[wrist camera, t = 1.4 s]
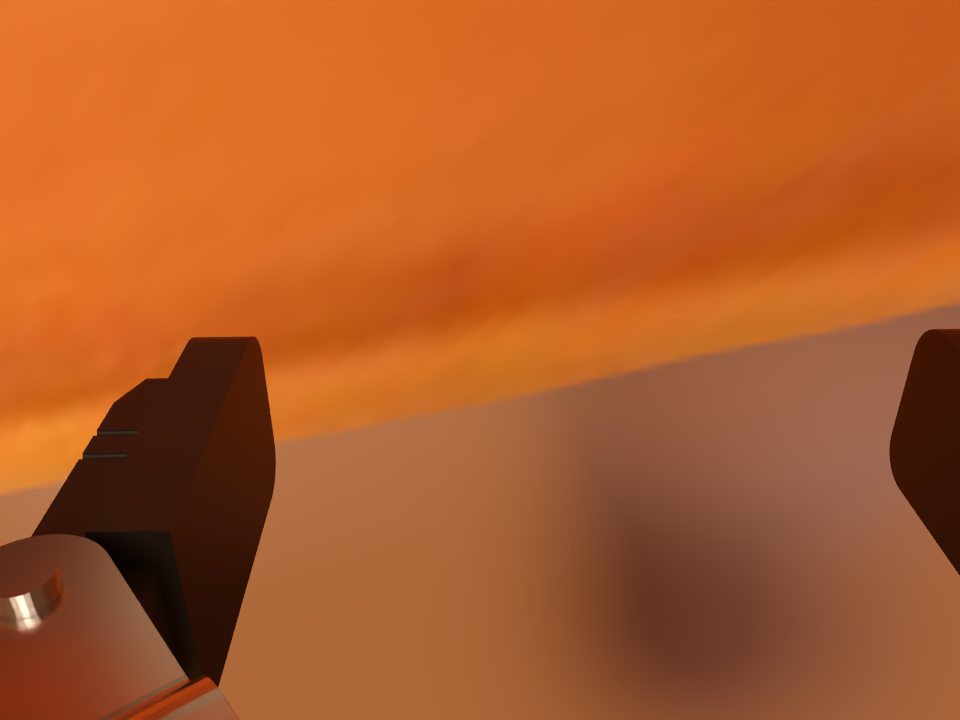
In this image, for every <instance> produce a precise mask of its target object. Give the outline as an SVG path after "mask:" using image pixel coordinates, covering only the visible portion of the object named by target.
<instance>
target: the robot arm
mask: <svg viewBox="0 0 960 720" xmlns="http://www.w3.org/2000/svg"><path fill="white" fill-rule="evenodd" d="M275 460H276V459H275V444H274V436H273V429H272V422H271V415H270V408H269V401H268V394H267V387H266V379H265V372H264V365H263V358H262V352H261V348H260V345H259V342H258V340H257V339H256V337H194V338H191V339H190V340H189V341H188V343H187V345H186V347H185V349H184V350H183V352H182V354H181V356H180V358H179V360H178V361H177V363H176V365H175V367H174V369H173V371H172V372H171V374H170V376H169V378H159V379H145V380H144V381H143V382H141V383H140V384H139V385H137V386H136V387H135V388H133V389H132V390H131V391H129V392H128V393H126V394H125V395H124V396H122V397H121V398H120V399H118V400H117V401H116V402H114V404H113V405H112V407H111V408H110V410H109V412H108V413H107V415H106V416H105V418H104V420H103V421H102V423H101V425H100V426H99V428H98V429H97V436H93V437H92V439H91V441H90V442H89V444H88V446H87V447H86V449H85V450H84V452H83V459H79V460H78V462H77V463H76V465H75V467H74V468H73V470H72V471H71V473H70V475H69V476H68V478H67V480H66V481H65V483H64V484H63V486H62V488H61V489H60V491H59V493H58V494H57V496H56V498H55V499H54V501H53V502H52V504H51V505H50V507H49V509H48V510H47V512H46V514H45V515H44V517H43V518H42V520H41V522H40V523H39V525H38V527H37V528H36V530H35V531H34V533H33V535H32V536H31V537H29V538H25V539H21V540H17V541H14V542H12V543H9V544H6V545H3V546H1V547H0V720H240V719H239V717H238V716H237V715H236V713H235V711H234V710H233V708H232V707H231V705H230V704H229V702H228V701H227V700H226V698H225V697H224V695H223V694H222V692H221V691H220V690H219V688H218V686H219V682H220V679H221V675H222V672H223V668H224V664H225V661H226V658H227V654H228V651H229V647H230V644H231V640H232V637H233V633H234V630H235V626H236V622H237V618H238V615H239V612H240V608H241V604H242V601H243V598H244V594H245V590H246V587H247V583H248V580H249V577H250V573H251V569H252V566H253V562H254V559H255V555H256V552H257V548H258V545H259V541H260V538H261V534H262V530H263V527H264V523H265V520H266V516H267V513H268V509H269V506H270V502H271V499H272V495H273V489H274V482H275V465H276V461H275ZM890 462H891V469H892V473H893V476H894V479H895V481H896V484H897V486H898V487H899V489H900V490H901V492H902V493H903V495H904V496H905V498H906V499H907V500H908V502H909V503H910V505H911V506H912V508H913V509H914V510H915V511H916V513H917V515H918V516H919V518H920V519H921V521H922V522H923V523H924V525H925V526H926V528H927V529H928V530H929V532H930V533H931V535H932V536H933V538H934V539H935V541H936V542H937V543H938V545H939V546H940V548H941V549H942V551H943V552H944V553H945V555H946V556H947V558H948V559H949V560H950V562H951V564H952V565H953V566H954V568H955V569H956V571H957V572H958V574H959V575H960V329H932V330H928V331H927V332H925V333H924V334H923V335H922V336H921V338H920V339H919V341H918V343H917V345H916V348H915V351H914V354H913V358H912V361H911V365H910V369H909V372H908V376H907V380H906V383H905V387H904V391H903V395H902V398H901V402H900V405H899V409H898V413H897V417H896V420H895V424H894V427H893V432H892V435H891V440H890Z"/></svg>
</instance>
